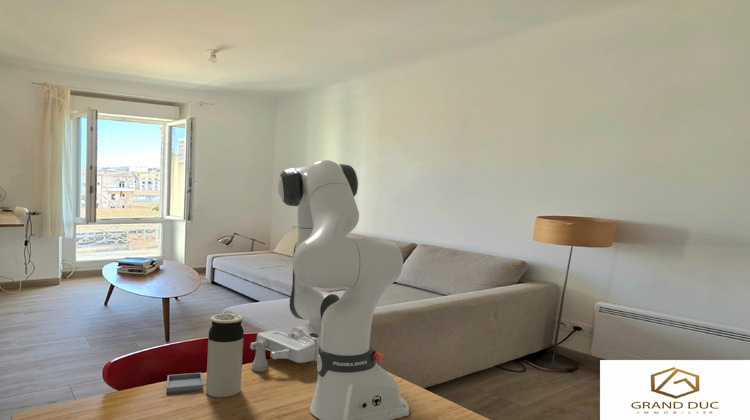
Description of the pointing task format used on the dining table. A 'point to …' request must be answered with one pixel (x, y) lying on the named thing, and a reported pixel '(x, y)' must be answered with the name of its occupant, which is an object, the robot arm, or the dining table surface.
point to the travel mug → (224, 355)
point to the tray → (184, 383)
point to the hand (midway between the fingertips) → (261, 351)
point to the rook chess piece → (260, 357)
